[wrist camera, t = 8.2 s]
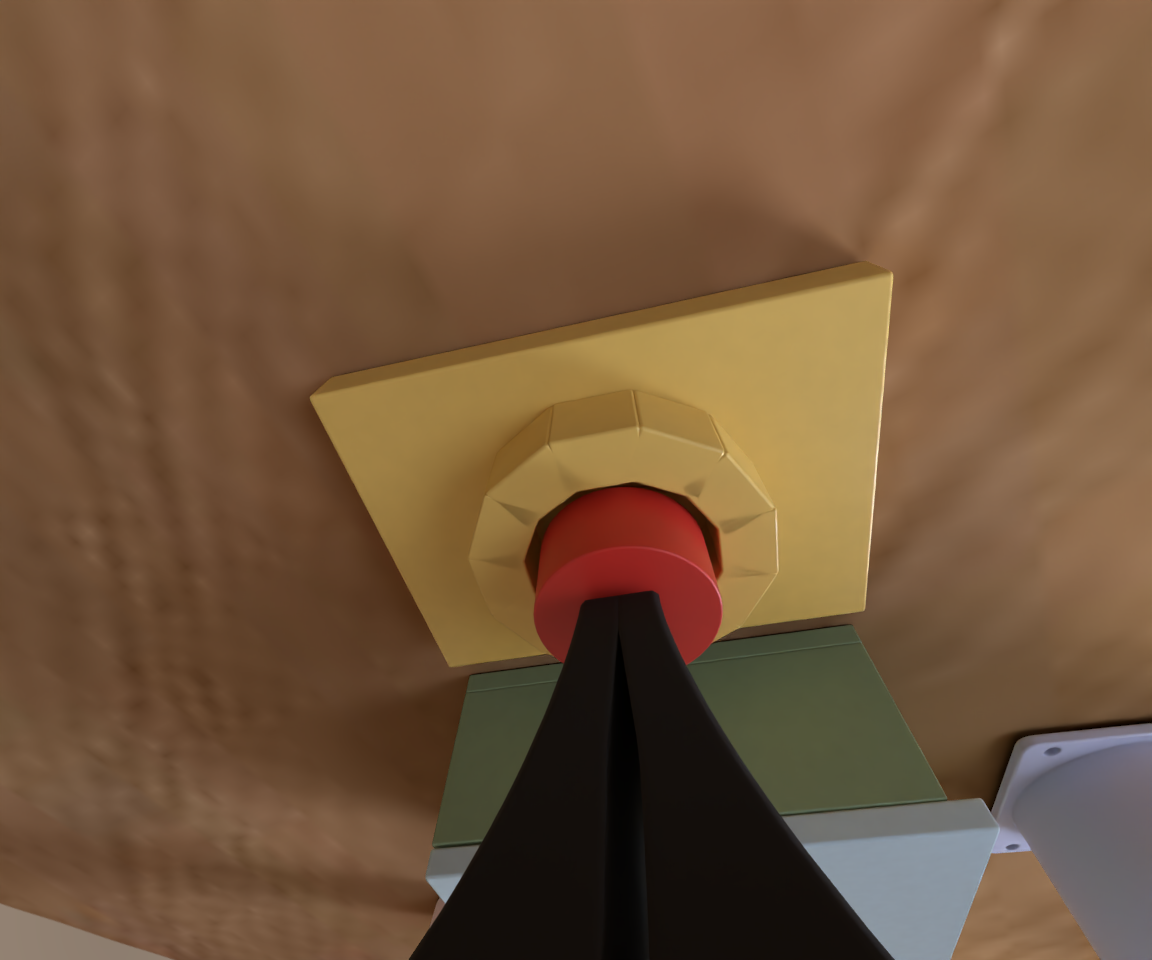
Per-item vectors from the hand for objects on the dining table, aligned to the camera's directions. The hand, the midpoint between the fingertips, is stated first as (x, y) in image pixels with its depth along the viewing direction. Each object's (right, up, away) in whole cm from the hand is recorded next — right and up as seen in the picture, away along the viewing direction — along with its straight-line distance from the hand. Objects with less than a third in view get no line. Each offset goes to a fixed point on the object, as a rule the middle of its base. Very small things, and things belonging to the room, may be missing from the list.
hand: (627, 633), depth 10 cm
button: (0, +1, +2) cm, 2 cm away
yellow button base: (0, +3, +4) cm, 5 cm away
